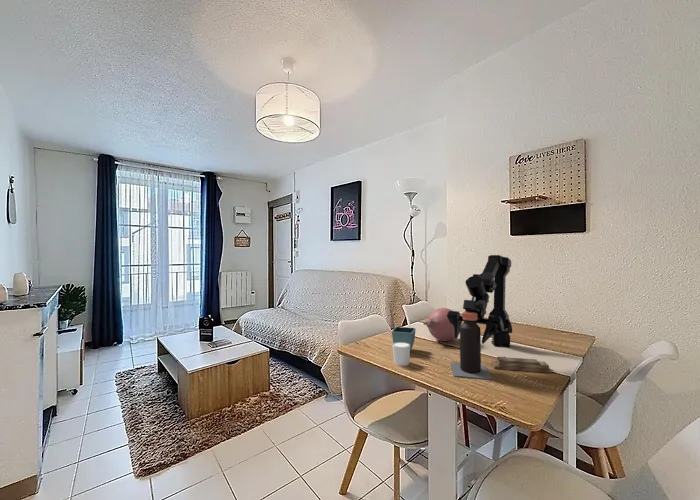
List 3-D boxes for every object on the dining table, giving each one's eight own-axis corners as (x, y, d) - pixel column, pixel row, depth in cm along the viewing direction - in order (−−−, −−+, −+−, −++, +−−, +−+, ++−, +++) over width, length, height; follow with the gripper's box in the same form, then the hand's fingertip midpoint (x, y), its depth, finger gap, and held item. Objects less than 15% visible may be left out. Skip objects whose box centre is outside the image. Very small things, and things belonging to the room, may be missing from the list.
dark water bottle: (485, 373, 102) (484, 314, 103) (466, 374, 101) (465, 315, 102) (474, 365, 109) (473, 310, 109) (456, 366, 108) (456, 311, 108)
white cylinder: (411, 360, 116) (411, 342, 116) (409, 367, 109) (409, 348, 109) (394, 359, 118) (394, 341, 118) (390, 365, 112) (390, 346, 112)
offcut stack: (494, 368, 107) (494, 360, 107) (491, 363, 112) (491, 355, 112) (551, 372, 103) (551, 364, 103) (545, 367, 108) (545, 359, 108)
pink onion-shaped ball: (413, 339, 144) (412, 307, 144) (446, 334, 152) (445, 304, 152) (433, 348, 130) (433, 313, 130) (468, 343, 138) (468, 309, 138)
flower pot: (391, 352, 126) (391, 331, 126) (396, 346, 134) (396, 326, 134) (412, 355, 122) (412, 333, 123) (416, 348, 131) (415, 328, 131)
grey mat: (453, 376, 101) (453, 375, 101) (450, 363, 112) (450, 362, 112) (492, 379, 98) (492, 378, 98) (484, 366, 109) (484, 365, 109)
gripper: (448, 289, 115) (436, 323, 106) (501, 293, 103) (492, 332, 94) (456, 306, 121) (445, 340, 112) (507, 312, 109) (499, 350, 100)
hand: (468, 340), depth 105 cm, fingers open, 9 cm apart
